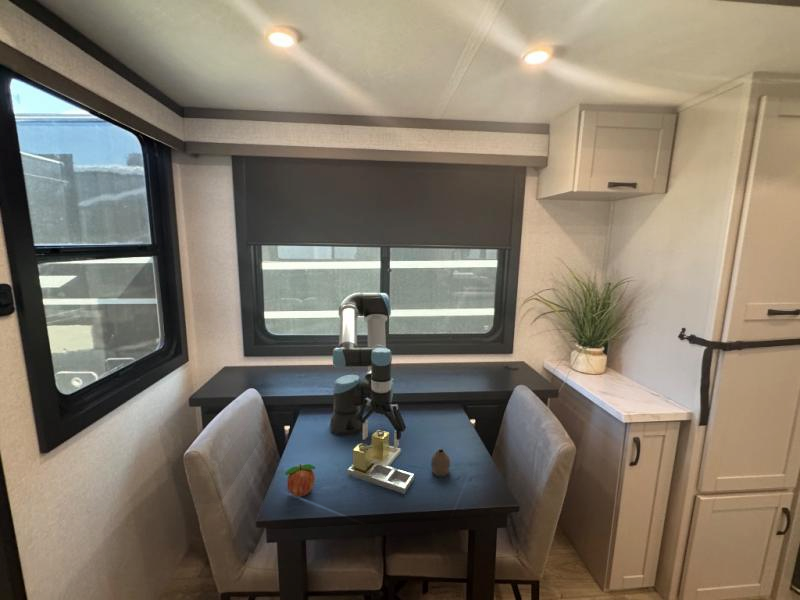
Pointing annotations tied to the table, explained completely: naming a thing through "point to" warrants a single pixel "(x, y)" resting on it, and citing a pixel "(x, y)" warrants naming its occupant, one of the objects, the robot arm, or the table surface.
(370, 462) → the brass block with knob
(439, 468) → the vase
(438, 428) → the table surface
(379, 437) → the knobbed block
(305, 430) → the table surface
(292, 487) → the fruit
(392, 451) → the tray
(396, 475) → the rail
